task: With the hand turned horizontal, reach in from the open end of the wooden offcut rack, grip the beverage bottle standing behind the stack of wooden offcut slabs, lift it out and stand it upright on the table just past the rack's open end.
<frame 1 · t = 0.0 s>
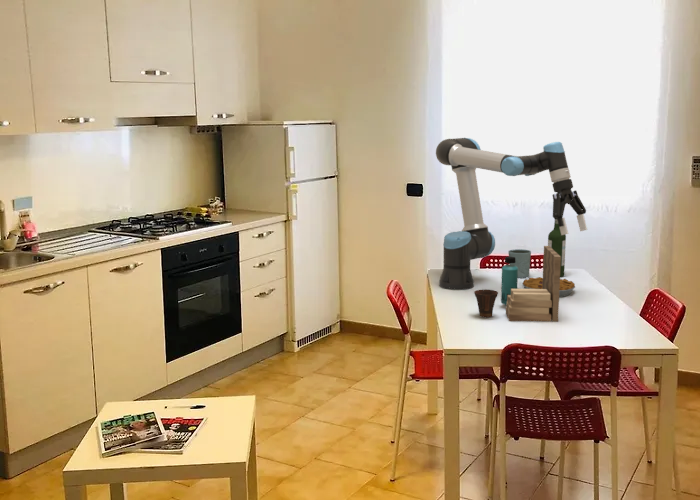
hand: (574, 232, 296), 28 cm above the table, tool tilted 20°, fingers open, 13 cm apart
pie: (548, 292, 317), on the table
offcut rack: (525, 313, 282), on the table
cup: (485, 316, 280), on the table
wine bottle: (555, 276, 346), on the table
beverage bottle: (508, 307, 293), on the table
grey plastic cylinder: (518, 276, 346), on the table
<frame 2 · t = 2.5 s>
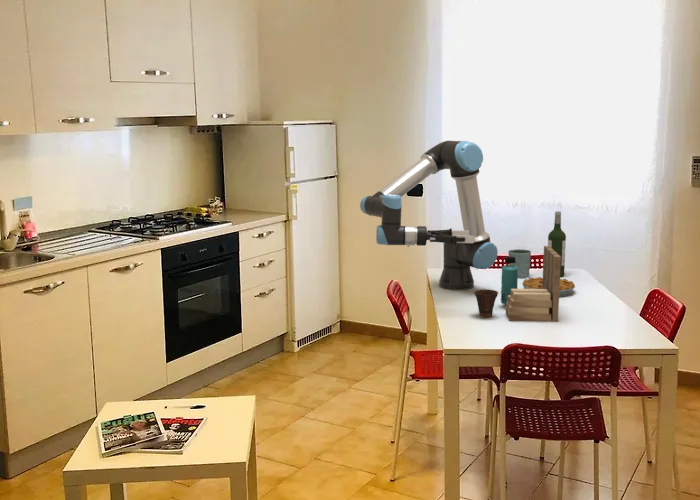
hand: (471, 236, 289), 28 cm above the table, tool horizontal, fingers open, 13 cm apart
nothing on the table moved.
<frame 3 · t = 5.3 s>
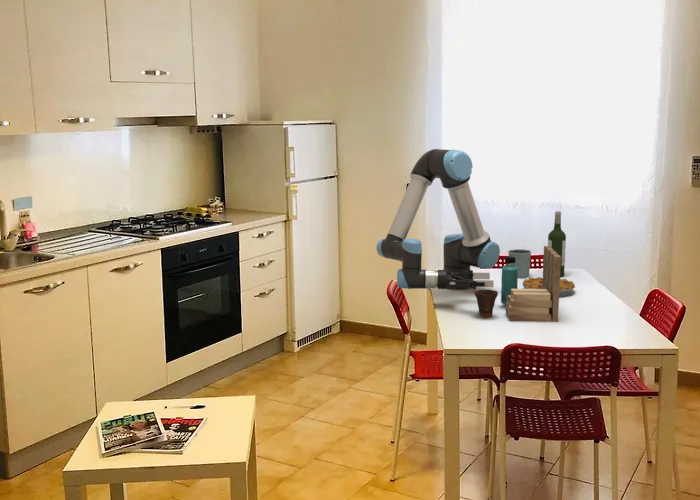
hand: (491, 279, 291), 11 cm above the table, tool horizontal, fingers open, 13 cm apart
nothing on the table moved.
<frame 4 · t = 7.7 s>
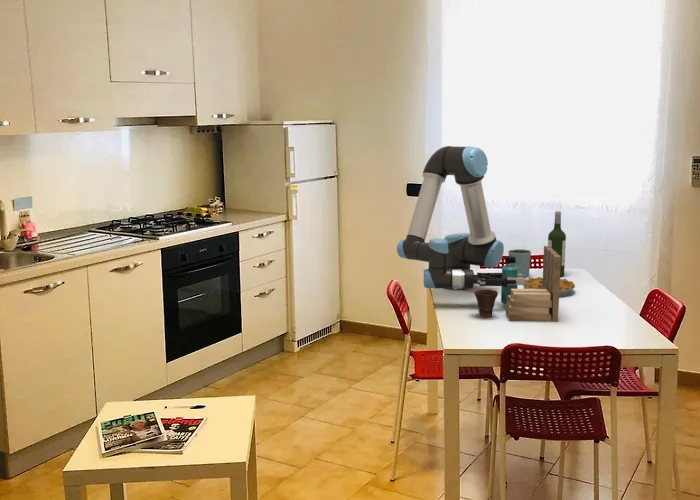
hand: (522, 279, 290), 11 cm above the table, tool horizontal, fingers closed on beverage bottle, 6 cm apart
beverage bottle: (508, 307, 293), on the table, touching gripper
everything else where it was.
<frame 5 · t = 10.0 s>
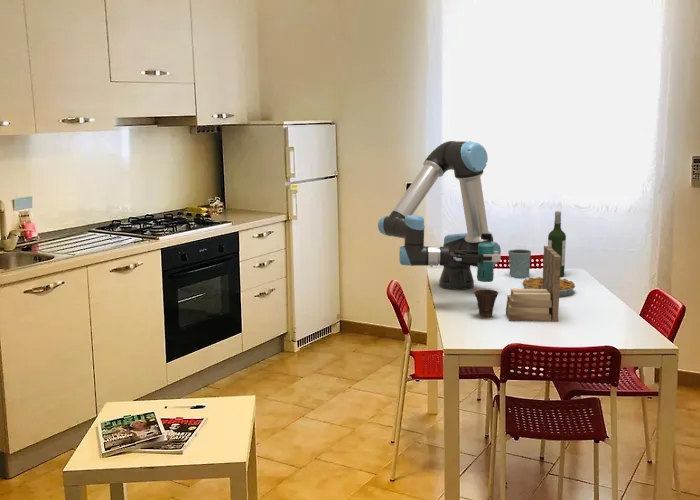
hand: (498, 256, 289), 20 cm above the table, tool horizontal, fingers closed on beverage bottle, 6 cm apart
beverage bottle: (484, 284, 291), point 9 cm above the table, touching gripper
everything else where it was.
when the fingers open (12 cm above the table, at t = 12.5 s): beverage bottle drops 1 cm, on the table.
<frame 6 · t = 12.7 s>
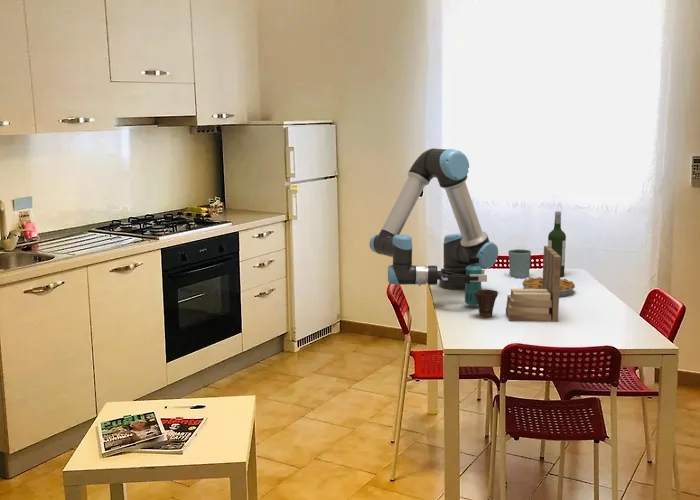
hand: (485, 275, 291), 12 cm above the table, tool horizontal, fingers open, 8 cm apart
beverage bottle: (472, 307, 293), on the table
everything else where it was.
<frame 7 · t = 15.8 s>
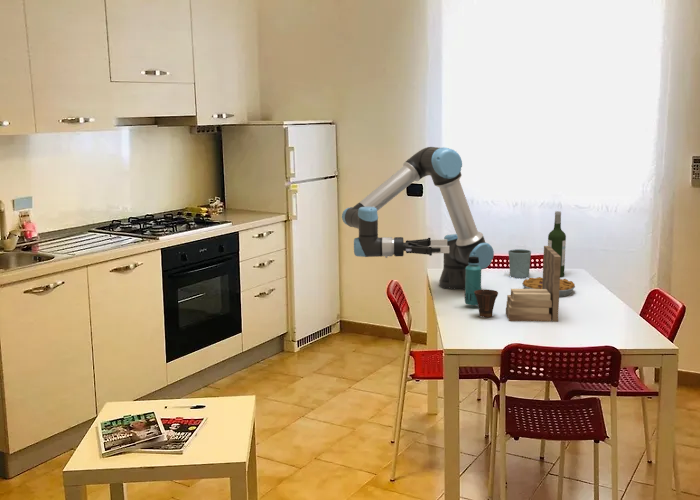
hand: (448, 246, 290), 24 cm above the table, tool horizontal, fingers open, 13 cm apart
nothing on the table moved.
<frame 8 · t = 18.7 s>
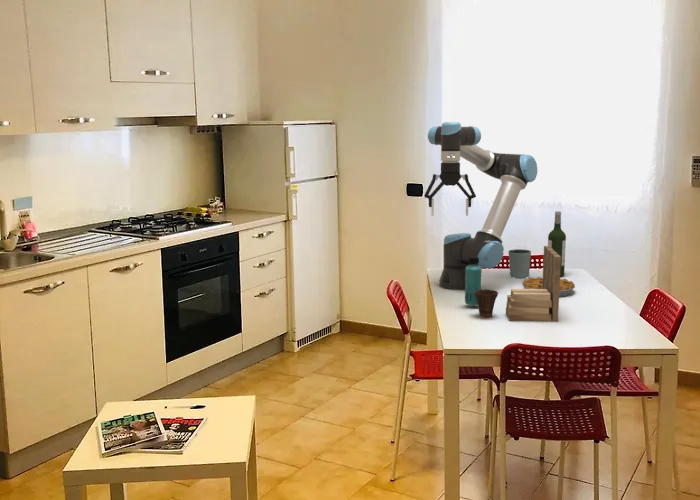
hand: (449, 215, 298), 35 cm above the table, tool pointing down, fingers open, 13 cm apart
nothing on the table moved.
at the end: beverage bottle inside the target area (0.5 cm from its centre), on the table; beverage bottle tilted 0°; the gripper is holding nothing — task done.
